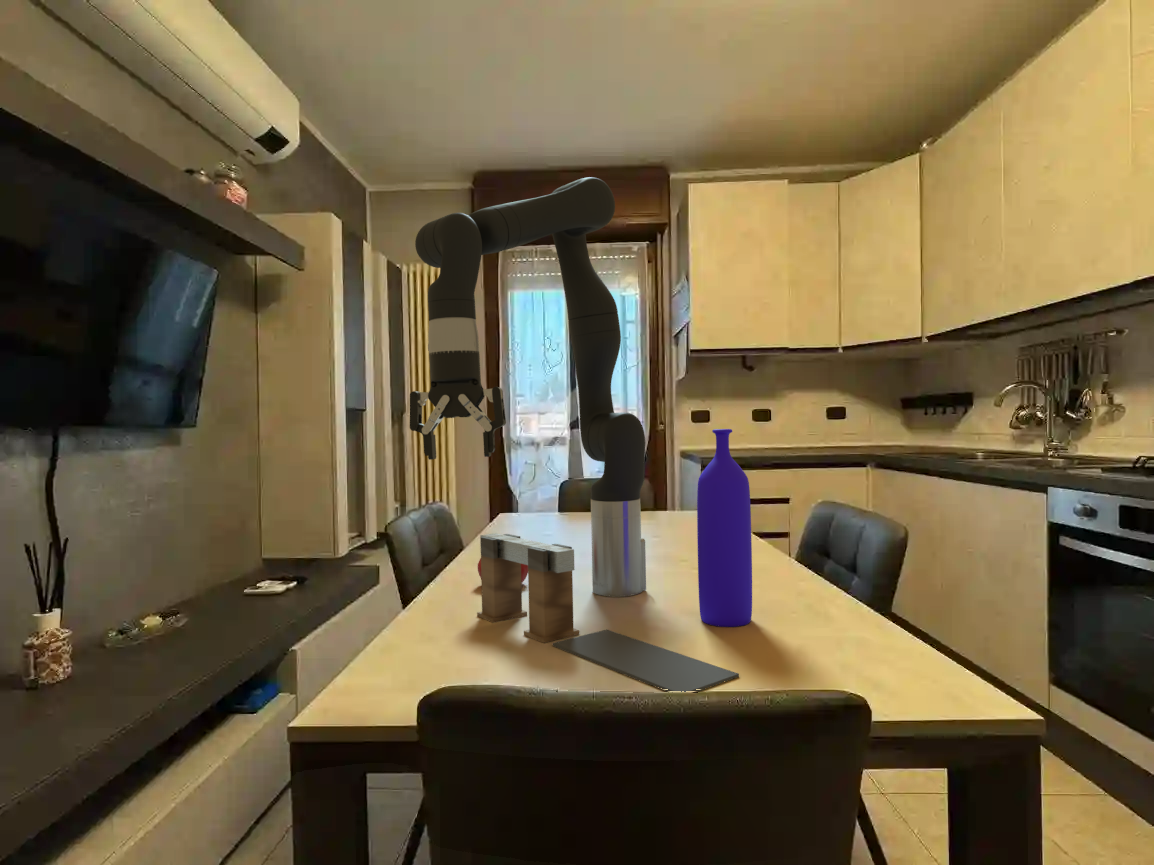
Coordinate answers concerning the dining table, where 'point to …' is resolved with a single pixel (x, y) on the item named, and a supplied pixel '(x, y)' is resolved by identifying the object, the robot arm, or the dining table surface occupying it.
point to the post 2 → (549, 599)
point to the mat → (646, 661)
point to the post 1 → (499, 584)
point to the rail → (518, 547)
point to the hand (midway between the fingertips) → (460, 457)
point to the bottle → (724, 540)
